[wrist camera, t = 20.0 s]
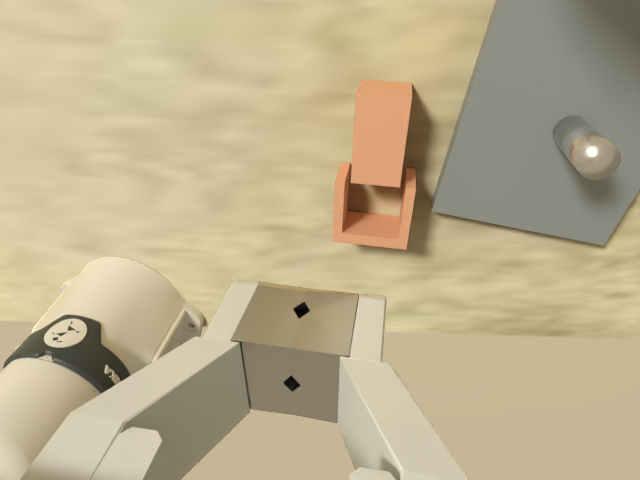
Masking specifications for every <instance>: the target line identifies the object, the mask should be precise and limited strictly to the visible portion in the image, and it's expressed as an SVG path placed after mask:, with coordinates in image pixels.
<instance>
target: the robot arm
mask: <svg viewBox="0 0 640 480" xmlns="http://www.w3.org/2000/svg"><path fill="white" fill-rule="evenodd" d="M60 291H61V293H62V294H61V295H60V296H59V298H58V299H57V300H56V301H55V302H54V304H53V305H52V306H51V307H50V308H49V309H48V311H47V312H46V313H45V314H44V315H43V317H42V318H41V319H40V320H39V322H38V323H37V324H36V325H35V326H34V328H33V330H32V334H31V335H30V336H29V337H28V338H27V339H26V340H25V341H24V342H23V343H22V344H20V345H18V347H17V348H16V349H15V350H14V351H13V352H12V355H11V356H10V357H9V358H8V359H7V360H6V362H5V364H4V367H3V370H2V371H1V372H0V480H181V479H182V478H183V477H184V476H185V475H186V474H187V473H188V472H189V471H190V470H191V469H192V468H193V467H194V466H195V465H196V464H197V463H198V462H199V461H200V460H201V459H202V458H203V457H204V456H205V455H206V454H207V453H208V452H209V451H210V450H212V449H213V448H214V447H215V446H216V445H217V444H218V443H219V442H220V441H221V440H222V439H223V438H224V437H225V436H226V435H227V434H228V433H229V432H230V431H231V430H232V429H233V428H234V427H235V426H236V425H237V424H238V423H239V422H240V421H241V420H242V419H243V418H244V417H245V416H246V415H247V414H248V413H249V412H250V409H254V410H261V411H269V412H277V413H284V414H291V415H297V416H302V417H308V418H313V419H318V420H323V421H328V422H334V423H338V428H339V430H340V433H341V435H342V438H343V440H344V443H345V445H346V448H347V450H348V453H349V455H350V458H351V460H352V463H353V465H354V468H355V471H354V472H353V473H351V474H350V477H349V480H468V478H467V477H466V475H465V474H464V472H463V471H462V470H461V468H460V466H459V465H458V463H457V462H456V460H455V459H454V457H453V456H452V454H451V453H450V451H449V450H448V448H447V447H446V446H445V444H444V442H443V441H442V440H441V438H440V437H439V436H438V434H437V432H436V431H435V429H434V428H433V426H432V425H431V423H430V422H429V420H428V419H427V417H426V416H425V414H424V413H423V411H422V410H421V409H420V407H419V405H418V404H417V403H416V401H415V400H414V398H413V396H412V395H411V394H410V392H409V391H408V389H407V388H406V386H405V385H404V383H403V382H402V380H401V379H400V377H399V376H398V374H397V373H396V371H395V370H394V368H393V367H392V365H391V364H389V363H383V362H382V356H383V342H384V327H385V313H386V297H385V296H380V295H370V294H360V295H359V294H355V293H346V292H337V291H327V290H318V289H309V288H302V287H295V286H288V285H281V284H274V283H266V282H256V281H249V280H242V279H237V280H236V281H235V282H233V283H232V285H231V287H230V289H229V290H228V292H227V294H226V296H225V298H224V299H223V301H222V303H221V305H220V307H219V308H218V310H217V312H216V314H215V316H214V317H213V319H212V321H211V323H210V325H209V326H208V328H207V330H206V332H205V334H204V336H203V337H200V335H201V331H202V326H203V322H204V316H203V314H202V313H201V312H200V311H199V310H198V309H197V308H195V307H194V306H193V305H191V304H190V303H188V302H187V301H185V299H184V298H183V297H182V296H181V295H180V294H179V292H178V291H177V290H176V289H175V288H174V286H173V285H172V284H171V283H170V282H169V281H168V280H166V279H165V278H164V277H163V276H162V275H160V274H159V273H157V272H156V271H154V270H153V269H151V268H149V267H147V266H145V265H143V264H141V263H139V262H136V261H133V260H130V259H126V258H120V257H102V258H98V259H95V260H93V261H91V262H89V263H88V264H87V265H86V266H85V267H84V268H83V270H82V271H81V272H80V274H79V275H78V276H77V277H74V278H71V279H69V280H67V281H65V282H64V284H63V285H62V286H61V288H60Z"/></svg>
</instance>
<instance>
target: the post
mask: <svg viewBox="0 0 640 480" xmlns="http://www.w3.org/2000/svg"><path fill="white" fill-rule="evenodd" d="M552 135H553V139H554V141H555V142H556V144H557V145H558V146H559V148H560V149H561V150H562V151H563V153H564V154H565V155H566V156H567V158H568V159H569V160H570V161H571V163H572V164H573V165H574V167H575V168H576V169H577V170H578V172H579V173H580V174H581V175H582V176H583V177H584V178H586V179H589V180H600V179H603V178H606V177H608V176H610V175H611V174H612V173H614V172H615V171H616V170H617V168H618V167H619V165H620V162H621V154H620V152H619V150H618V149H617V148H616V147H614V146H613V145H612V144H611V143H610V142H609V141H608V140H607V139H606V138H605V137H604V136H602V135H601V134H600V133H599V132H598V131H597V130H596V129H595V128H594V127H593V126H592V125H591V124H589V123H588V122H587V121H586V120H585V119H584V118H583V117H580V116H576V115H573V116H568V117H565V118H563V119H562V120H560V121H559V122H558V123H557V124H556V126H555V127H554V129H553V134H552Z"/></svg>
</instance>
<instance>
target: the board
mask: <svg viewBox="0 0 640 480" xmlns="http://www.w3.org/2000/svg"><path fill="white" fill-rule="evenodd" d="M573 115H576V116H580V117H583V118H584V119H585V120H586V121H587V122H588V123H589V124H591V125H592V126H593V127H594V128H595V129H596V130H597V131H598V132H599V133H600V134H601V135H602V136H604V137H605V138H606V139H607V140H608V141H609V142H610V143H611V144H612V145H613V146H614V147H616V148H617V149H618V150H619V152H620V154H621V162H620V165H619V167H618V168H617V170H616V171H615V172H614V173H612V174H611V175H610V176H608V177H606V178H603V179H600V180H589V179H586V178H584V177H583V176H582V175H581V174H580V173H579V172H578V170H577V169H576V168H575V167H574V165H573V164H572V163H571V161H570V160H569V159H568V158H567V156H566V155H565V154H564V153H563V151H562V150H561V149H560V148H559V146H558V145H557V144H556V142H555V141H554V139H553V135H552V134H553V129H554V127H555V126H556V124H557V123H558V122H559V121H560V120H562V119H563V118H565V117H568V116H573ZM639 190H640V0H496V3H495V6H494V9H493V12H492V15H491V18H490V21H489V24H488V28H487V31H486V34H485V37H484V40H483V43H482V46H481V49H480V52H479V56H478V59H477V62H476V65H475V68H474V71H473V74H472V77H471V80H470V83H469V87H468V90H467V93H466V96H465V99H464V102H463V105H462V108H461V111H460V114H459V118H458V121H457V124H456V127H455V130H454V133H453V136H452V139H451V142H450V145H449V149H448V152H447V155H446V158H445V161H444V164H443V167H442V170H441V173H440V176H439V180H438V183H437V186H436V189H435V192H434V195H433V198H432V201H431V211H432V212H437V213H442V214H447V215H452V216H457V217H462V218H467V219H472V220H477V221H482V222H487V223H492V224H497V225H502V226H507V227H512V228H517V229H522V230H527V231H532V232H537V233H542V234H547V235H552V236H557V237H562V238H567V239H572V240H577V241H582V242H587V243H592V244H597V245H602V246H604V245H605V243H606V242H607V240H608V239H609V237H610V236H611V234H612V232H613V231H614V229H615V228H616V226H617V225H618V223H619V222H620V220H621V218H622V217H623V215H624V214H625V212H626V211H627V209H628V207H629V206H630V204H631V203H632V201H633V200H634V198H635V196H636V195H637V193H638V192H639Z"/></svg>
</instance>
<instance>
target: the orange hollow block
mask: <svg viewBox="0 0 640 480" xmlns="http://www.w3.org/2000/svg"><path fill="white" fill-rule="evenodd" d="M411 101H412V83H402V82H385V81H368V80H361V82H360V85H359V88H358V90H357V93H356V105H355V121H354V137H353V153H352V169H351V183H357V184H368V185H379V186H390V187H400V182H401V175H402V167H403V160H404V153H405V145H406V138H407V131H408V123H409V116H410V109H411ZM349 175H350V163H345V162H341V165H340V168H339V171H338V174H337V177H336V180H335V194H334V219H333V242H342V243H351V244H360V245H369V246H378V247H386V248H395V249H404V250H406V249H407V242H408V236H409V230H410V224H411V217H412V211H413V205H414V199H415V193H416V169H414V168H406V174H405V181H404V188H403V195H402V202H401V209H400V216H391V215H381V214H372V213H362V212H352V211H347V208H348V191H349Z"/></svg>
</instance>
